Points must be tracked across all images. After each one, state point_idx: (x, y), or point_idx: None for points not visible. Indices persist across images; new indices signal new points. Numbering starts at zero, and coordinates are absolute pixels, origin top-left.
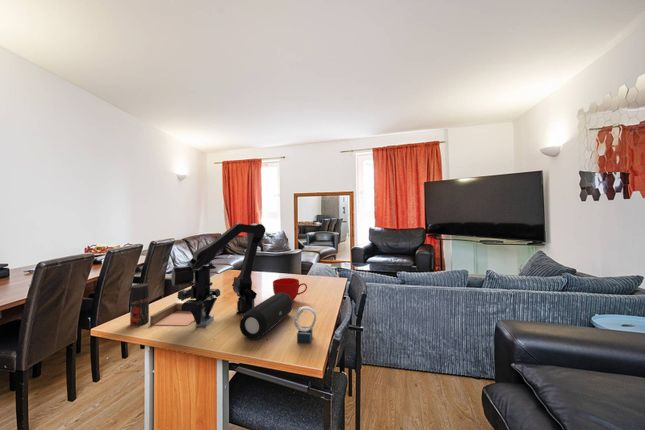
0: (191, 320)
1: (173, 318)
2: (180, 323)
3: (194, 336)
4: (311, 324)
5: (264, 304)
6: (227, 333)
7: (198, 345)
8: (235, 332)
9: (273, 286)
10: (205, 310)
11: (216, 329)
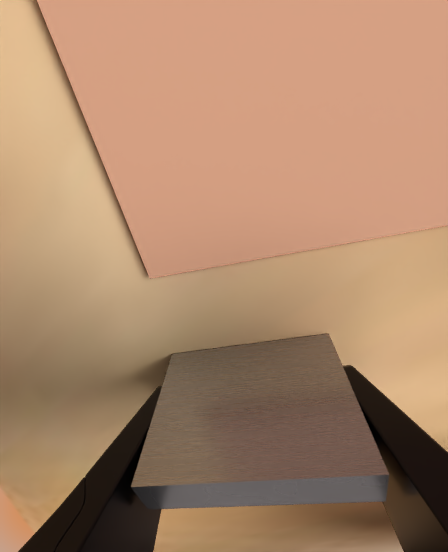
0: (278, 222)
1: None
2: (147, 143)
3: (55, 426)
4: None
5: None
6: (171, 519)
7: (11, 480)
8: (194, 534)
9: None
10: (332, 498)
11: None
